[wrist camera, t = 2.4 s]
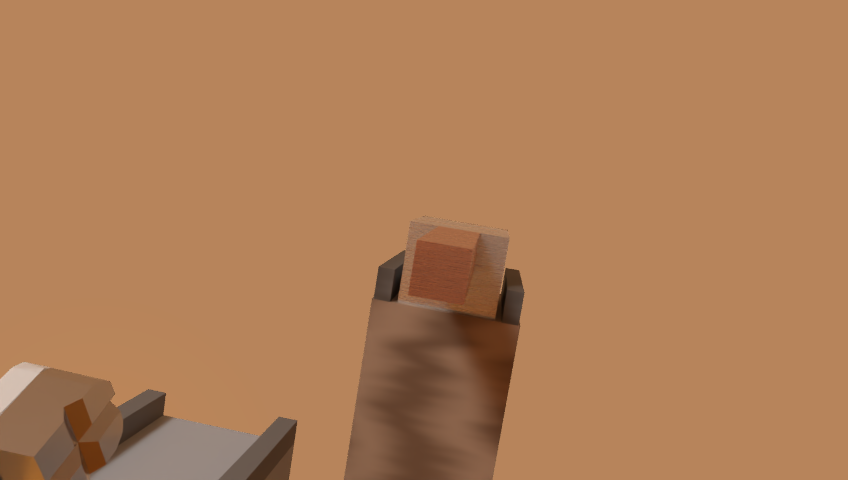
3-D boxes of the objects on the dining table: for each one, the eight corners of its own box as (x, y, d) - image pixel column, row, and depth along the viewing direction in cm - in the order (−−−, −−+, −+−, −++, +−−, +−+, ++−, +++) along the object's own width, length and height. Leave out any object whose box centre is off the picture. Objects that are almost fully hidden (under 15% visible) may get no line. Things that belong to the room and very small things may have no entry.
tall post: (477, 610, 50) (539, 272, 47) (470, 743, 38) (553, 300, 35) (334, 577, 51) (386, 245, 48) (284, 694, 39) (348, 264, 36)
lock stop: (495, 299, 44) (507, 230, 43) (493, 367, 27) (513, 256, 27) (413, 284, 45) (424, 215, 44) (361, 342, 28) (378, 232, 27)
